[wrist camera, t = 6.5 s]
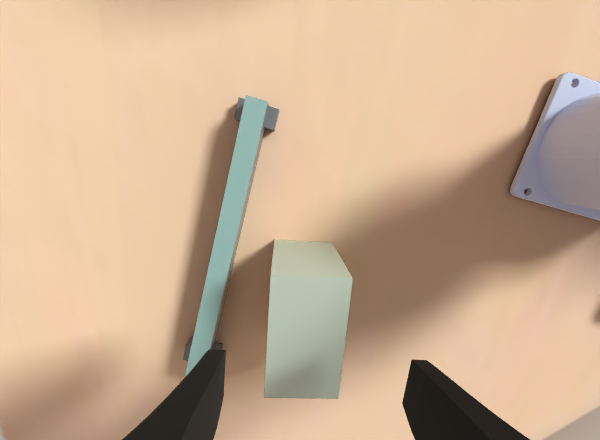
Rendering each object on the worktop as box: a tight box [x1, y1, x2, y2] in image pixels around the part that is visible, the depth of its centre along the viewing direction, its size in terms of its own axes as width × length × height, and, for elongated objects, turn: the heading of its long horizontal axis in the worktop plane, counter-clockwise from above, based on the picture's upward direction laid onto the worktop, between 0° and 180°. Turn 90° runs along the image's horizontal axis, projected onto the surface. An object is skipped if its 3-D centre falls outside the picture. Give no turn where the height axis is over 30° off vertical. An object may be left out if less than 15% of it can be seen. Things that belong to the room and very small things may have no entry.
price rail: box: [183, 95, 279, 376], centre depth 18 cm, size 2×18×2 cm, turn 165°
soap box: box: [264, 239, 353, 399], centre depth 17 cm, size 7×4×6 cm, turn 176°
